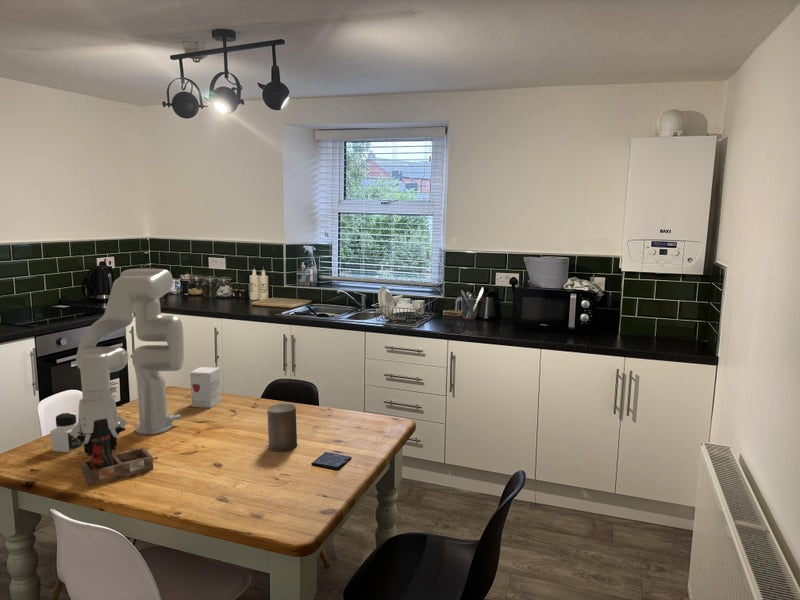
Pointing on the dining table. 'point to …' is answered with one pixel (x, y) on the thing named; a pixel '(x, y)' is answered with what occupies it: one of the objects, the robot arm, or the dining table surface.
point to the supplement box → (205, 387)
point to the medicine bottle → (65, 434)
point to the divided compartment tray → (119, 466)
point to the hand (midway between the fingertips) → (101, 451)
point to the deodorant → (101, 445)
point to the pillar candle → (282, 427)
